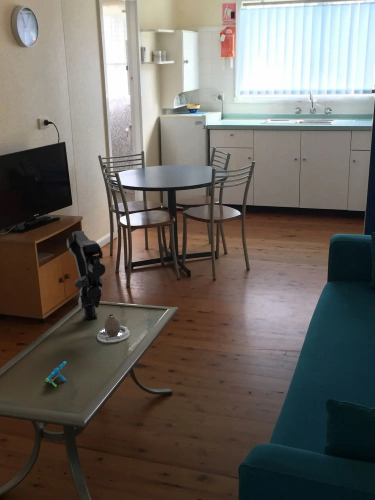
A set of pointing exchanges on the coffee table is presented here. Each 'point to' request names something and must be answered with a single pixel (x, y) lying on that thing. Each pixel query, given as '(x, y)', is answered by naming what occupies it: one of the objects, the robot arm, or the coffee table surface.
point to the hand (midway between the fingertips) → (97, 303)
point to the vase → (112, 325)
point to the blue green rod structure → (56, 372)
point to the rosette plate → (119, 337)
